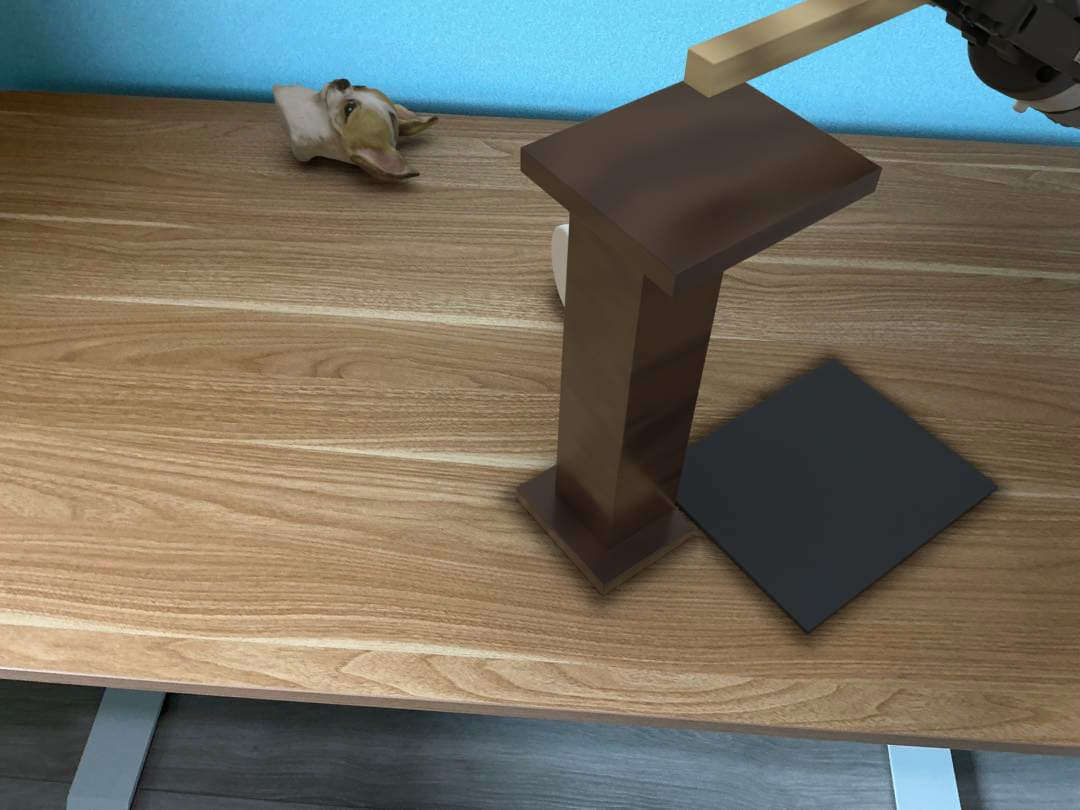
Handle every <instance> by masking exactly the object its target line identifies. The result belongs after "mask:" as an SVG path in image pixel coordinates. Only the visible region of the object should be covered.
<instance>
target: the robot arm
mask: <svg viewBox="0 0 1080 810" xmlns="http://www.w3.org/2000/svg"><path fill="white" fill-rule="evenodd" d="M930 1H932V2H930V3H927V4H926V5H928V6H930V7H932V8H939V9H940V10H942V11H943V12H945V13H946V15H945V21H944V22H945V23H946V24H947V25H949V26H951V27H952V28H955V29H956V30H957V31H959V32H960V33H961V35H960V36H961V38H963V39H964V40H966V41H967V42H966V45H967V46H966V47H967V50H966V51H967V57H968V58H967V59H968V61H969V64H970V67H971V69H972V71H973V72H974V75H976V77H977V78H978V79H979V80H980V81H981V82H982V83H983V84H984V85H985V86H987V87H988V88H990V89H992V90H994V91H996V92H998V93H1000V94H1002V95H1004V96H1005V97H1008V98H1010V99H1014V102H1013V104H1012V106H1011V107H1012V110H1013V111H1014V112H1017V113H1019V114H1023V113H1025V112H1026V111H1027V110H1028V108H1031V109H1033V110H1034V111H1036V112H1039V113H1041V114H1043V115H1044V116H1045V118H1047V119H1048V120H1050V121H1051V122H1052V123H1054V124H1055V125H1058V124H1059V125H1060V126H1061V127H1063V128H1072V129H1076V130H1080V0H930Z"/></svg>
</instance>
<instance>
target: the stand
mask: <svg viewBox="0 0 1080 810" xmlns="http://www.w3.org/2000/svg"><path fill="white" fill-rule="evenodd" d="M519 151H520V153H519V154H520V155H519V156H520V159H519V160H520V161H519V162H520V163H519V166H520V167H519V171H520V172H521V173H522V175H524V176H525V177H527V178H528V179H529V180H530V181H532V182H533V183H534V185H536V186H538V187H539V188H540V189H541V190H542V191H543V192H545V193H546V194H547V195H548V196H549V197H550V198H551V199H553V200H554V201H555V202H557V203H558V204H559V205H560V206H561V207H563V208H564V209H565V210H566V211H567V212H568V213H569V215H568V217H569V218H568V224H569V233H568V252H567V271H566V290H565V307H564V308H563V309H564V312H563V329H562V330H563V331H562V346H561V347H562V348H561V349H562V350H561V367H560V387H559V405H558V423H557V424H558V426H557V443H556V445H557V446H556V463H555V464H554V465H552V466H551V467H549V468H547V469H545V470H544V471H542V472H540V473H539V474H537V475H535V476H534V477H532V478H530V479H528V480H527V481H525V482H523V483H521V484H520V485H518V486H516V487H515V491H514V492H515V495H514V496H515V499H516V500H517V501H518V502H519V503H520V504H521V506H522V507H523V508H524V509H525V510H526V511H527V512H528V514H529V515H530V516H531V517H532V518H533V519H534V521H536V523H537V524H538V525H539V526H540V527H541V529H543V531H545V533H546V534H547V535H548V536H549V537H550V539H551V540H553V542H554V543H555V544H556V545H557V546H558V547H559V549H560V550H561V551H562V552H563V553H564V554H565V555H566V557H567V558H568V559H569V561H571V562H572V564H574V565H575V567H576V568H577V569H578V570H579V571H580V572H581V574H582V575H583V576H584V577H585V578H586V579H587V580H588V582H590V584H591V585H592V586H593V587H594V588H595V590H596V591H597V592H598V593H599V594H600V595H601V596H602V597H603V596H605V595H606V594H608V593H610V592H611V591H613V590H614V589H616V588H617V587H619V586H620V585H622V584H623V583H625V582H627V581H628V580H629V579H630V578H632V577H634V576H635V575H637V574H638V573H640V572H642V571H643V570H644V569H646V568H647V567H649V566H650V565H652V564H654V563H655V562H656V561H658V560H659V559H660V558H662V557H664V556H665V555H667V554H668V553H670V552H671V551H673V550H674V549H676V548H677V547H679V546H680V545H682V544H683V543H685V542H686V541H688V540H689V539H691V538H692V535H693V531H694V527H693V526H692V525H691V524H690V523H689V522H688V521H687V520H686V519H685V518H684V517H683V516H682V515H681V514H680V513H679V512H678V511H677V510H676V509H675V507H676V504H675V502H676V498H677V493H678V488H679V483H680V478H681V474H682V469H683V464H684V459H685V455H686V450H687V447H688V446H689V440H690V435H691V431H692V425H693V421H694V417H695V416H694V415H695V411H696V406H697V401H698V396H699V392H700V388H701V384H702V383H701V382H702V377H703V372H704V368H705V364H706V359H707V354H708V348H709V344H710V339H711V335H712V330H713V325H714V320H715V315H716V311H717V306H718V302H719V301H718V300H719V296H720V292H721V287H722V282H723V278H724V272H725V271H728V270H729V269H730V268H733V267H734V266H736V265H739V264H741V263H742V262H744V261H746V260H748V259H750V258H752V257H753V256H756V255H757V254H759V253H761V252H763V251H764V250H765V251H766V250H767V249H769V248H772V246H775V245H777V244H779V243H780V242H783V241H784V240H785V239H787V238H789V237H792V236H793V235H795V234H797V233H799V232H802V231H803V230H805V229H807V228H809V227H810V226H812V225H814V224H816V223H818V222H820V221H822V220H824V219H826V218H828V217H830V216H831V215H833V214H835V213H837V212H839V211H841V210H843V209H845V208H846V207H849V206H850V205H852V204H854V203H856V202H858V201H860V200H862V199H863V198H865V197H868V196H869V195H871V194H873V193H874V192H876V190H877V186H878V184H879V181H880V177H881V174H882V171H883V167H882V166H881V165H879V164H878V163H876V162H874V161H873V160H871V159H869V158H868V157H866V156H865V155H863V154H861V153H860V152H859V151H857V150H855V149H853V148H852V147H850V146H849V145H847V144H846V143H844V142H842V140H839V139H837V138H836V137H834V136H833V135H832V134H829V132H826V131H825V130H823V129H822V128H820V127H819V126H817V125H815V124H814V123H812V122H810V121H809V120H808V119H805V118H804V117H802V116H801V115H799V114H798V113H796V112H794V111H793V110H791V109H790V108H788V107H786V106H784V105H783V104H782V103H780V102H778V101H777V100H775V99H774V98H772V97H770V96H769V95H767V94H766V93H764V92H762V91H761V90H759V89H757V88H756V87H755V86H753V85H751V84H750V83H748V82H745V83H742V84H740V85H738V86H736V87H733V88H731V89H729V90H726V91H724V92H722V93H719V94H717V95H715V96H712V97H710V98H708V97H706V96H704V95H703V94H701V93H700V92H698V91H697V90H695V89H694V88H692V87H691V86H689V85H688V84H686V83H684V79H683V80H681V81H678V82H676V83H673V84H671V85H668V86H666V87H664V88H661V89H659V90H656V91H653V92H651V93H648V94H646V95H644V96H641V97H639V98H637V99H634V100H632V101H629V102H627V103H624V104H622V105H619V106H617V107H615V108H612V109H610V110H607V111H605V112H602V113H600V114H598V115H595V116H593V117H591V118H588V119H586V120H583V121H580V122H578V123H576V124H573V125H570V126H568V127H566V128H564V129H561V130H559V131H556V132H554V133H551V134H548V135H547V136H544V137H542V138H539V139H537V140H534V141H532V142H530V143H527V144H524V145H522V146H521V147H520V150H519Z"/></svg>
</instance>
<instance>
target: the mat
mask: <svg viewBox="0 0 1080 810" xmlns="http://www.w3.org/2000/svg"><path fill="white" fill-rule="evenodd" d="M998 487H999V485H997V484H996V482H994V481H993V480H991V479H990V478H989V477H987V476H986V475H985V474H983V473H982V472H981V471H980V470H979V469H978V468H976V467H975V466H973V465H972V464H970V462H968V461H967V460H965V459H964V458H963V457H962V456H961V455H959V454H958V453H956V452H955V451H954V450H953V449H952V448H951V447H949V446H948V445H947V444H945V443H944V442H943V441H942V440H940V439H938V438H937V437H936V436H935V435H934V434H933V433H931V432H930V431H928V430H927V429H926V428H924V426H922V425H921V424H920V423H918V422H917V421H916V420H914V419H913V418H912V417H910V416H909V415H908V414H907V413H905V412H904V411H903V410H902V409H900V408H899V407H898V406H896V404H894V403H893V402H891V401H890V400H889V399H887V398H886V397H884V396H883V395H882V394H881V393H879V392H878V391H877V390H876V389H875V388H873V387H872V386H871V385H869V384H868V383H867V382H865V381H864V380H863V379H862V378H860V377H859V376H858V375H856V374H855V373H854V372H853V371H851V370H850V369H849V368H847V367H846V366H845V365H844V364H843V363H841V362H840V361H839V360H838V359H836V358H835V357H832V358H831V359H829V360H826V361H825V362H824V363H823V364H821V365H819V366H817V367H816V368H814V369H812V370H811V371H809V372H808V373H805V375H803V376H801V377H799V378H798V379H796V380H795V381H793V382H791V383H789V384H788V385H786V386H785V387H783V388H781V389H780V390H778V391H777V392H775V393H774V394H772V395H770V396H768V397H767V398H765V399H763V400H762V401H760V402H758V403H757V404H755V405H753V406H752V407H750V408H749V409H748V410H746V411H744V412H743V413H741V414H739V415H738V416H735V417H734V418H733V419H731V420H729V421H727V422H726V423H724V424H723V425H721V426H720V427H718V428H717V429H714V430H713V431H712V432H710V433H708V434H707V435H705V436H703V437H702V438H700V439H698V440H697V441H695V442H693V443H692V444H691V445H688V446H687V450H686V455H685V459H684V464H683V469H682V474H681V478H680V483H679V488H678V493H677V498H676V502H675V506H677V507H678V508H679V509H680V510H681V511H682V512H683V513H684V514H685V515H686V516H687V517H688V518H689V519H690V520H691V521H692V522H693V523H694V524H695V525H696V526H697V527H698V528H699V529H700V530H701V531H702V532H703V533H704V534H705V535H706V536H707V537H708V538H709V539H710V540H711V541H712V542H714V544H715V545H717V546H718V548H719V549H720V550H721V551H722V552H723V553H724V554H725V555H726V556H728V558H730V560H732V562H734V563H735V564H736V566H738V568H739V569H741V570H742V571H743V573H745V574H746V575H747V576H748V577H749V578H750V579H751V580H752V581H753V583H755V584H756V585H757V586H758V587H759V588H760V589H761V591H763V592H764V593H765V594H766V595H767V596H768V597H769V598H770V599H771V600H772V601H773V602H774V603H775V604H776V605H777V606H778V607H779V608H780V609H781V610H782V611H783V613H785V614H786V615H787V616H788V617H789V618H790V619H791V620H792V621H793V622H794V623H795V624H796V625H797V626H798V627H799V628H800V629H801V630H802V631H803V632H804V633H805V634H806V635H808V634H810V633H812V631H814V630H815V629H816V628H818V627H819V626H820V625H822V624H823V623H824V622H826V621H827V620H828V619H829V618H831V617H832V616H833V615H835V614H836V613H837V612H839V611H840V610H841V609H842V608H844V607H845V606H847V604H849V603H851V601H853V600H854V599H855V598H857V597H858V596H860V595H861V594H862V593H863V592H864V591H866V590H867V589H868V588H870V587H872V585H874V584H875V583H877V582H878V581H879V580H880V579H882V578H883V577H884V576H886V574H888V573H889V572H890V571H892V570H893V569H895V568H896V567H898V565H900V564H901V563H902V562H904V561H905V560H906V559H907V558H909V557H910V556H911V555H912V554H915V552H917V551H918V550H919V549H921V548H922V547H923V546H924V545H926V544H928V543H929V542H930V541H931V540H932V539H934V538H935V537H936V536H938V535H940V533H941V532H943V531H944V530H945V529H947V528H948V527H949V526H951V525H952V524H953V523H955V522H956V521H957V520H958V519H960V518H961V517H962V516H964V515H965V514H966V513H968V511H970V510H971V509H973V508H974V507H975V506H976V505H978V504H979V503H980V502H983V500H985V498H987V497H988V496H989V495H991V494H992V493H994V492H995V491H996V490H997V489H998Z"/></svg>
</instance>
